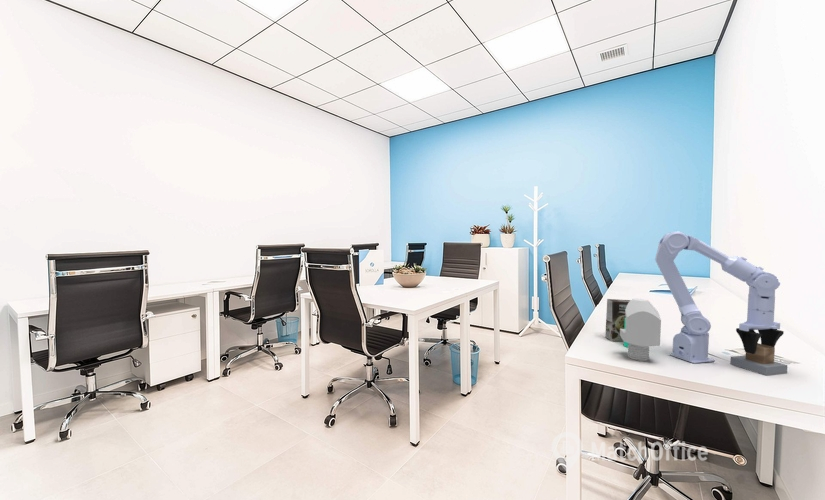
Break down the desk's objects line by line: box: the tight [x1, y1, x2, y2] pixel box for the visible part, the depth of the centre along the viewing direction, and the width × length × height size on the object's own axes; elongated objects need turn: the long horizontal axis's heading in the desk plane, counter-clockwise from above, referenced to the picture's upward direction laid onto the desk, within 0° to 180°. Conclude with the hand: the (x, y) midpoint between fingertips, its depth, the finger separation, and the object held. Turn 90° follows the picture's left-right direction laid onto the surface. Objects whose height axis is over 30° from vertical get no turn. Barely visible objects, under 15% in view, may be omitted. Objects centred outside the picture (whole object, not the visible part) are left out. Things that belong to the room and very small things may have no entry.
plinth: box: [729, 354, 788, 376], centre depth 101 cm, size 9×9×2 cm
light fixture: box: [620, 298, 662, 362], centre depth 109 cm, size 9×9×20 cm
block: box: [745, 343, 776, 364], centre depth 101 cm, size 4×4×5 cm
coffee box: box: [604, 298, 632, 343], centre depth 129 cm, size 9×6×16 cm
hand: (758, 352), depth 101 cm, fingers open, 7 cm apart
